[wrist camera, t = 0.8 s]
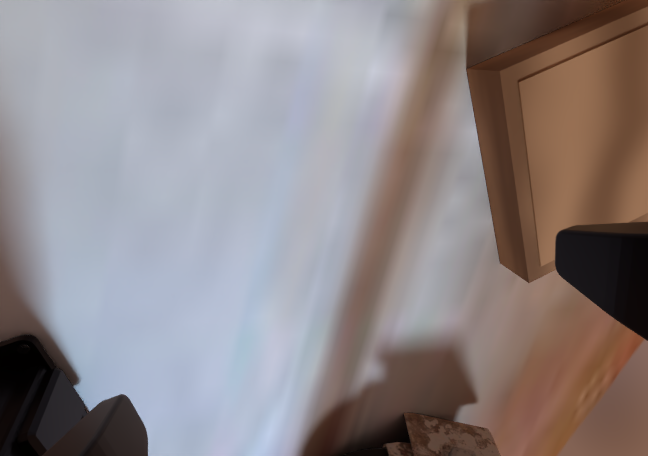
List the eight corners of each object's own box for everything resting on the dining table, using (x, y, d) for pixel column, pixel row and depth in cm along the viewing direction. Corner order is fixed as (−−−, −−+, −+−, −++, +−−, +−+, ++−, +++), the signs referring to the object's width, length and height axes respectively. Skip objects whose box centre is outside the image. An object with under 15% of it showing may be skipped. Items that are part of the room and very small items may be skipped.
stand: (500, 263, 26) (530, 283, 24) (466, 68, 21) (501, 71, 18) (658, 184, 28) (701, 196, 25) (665, -18, 22) (721, -25, 20)
